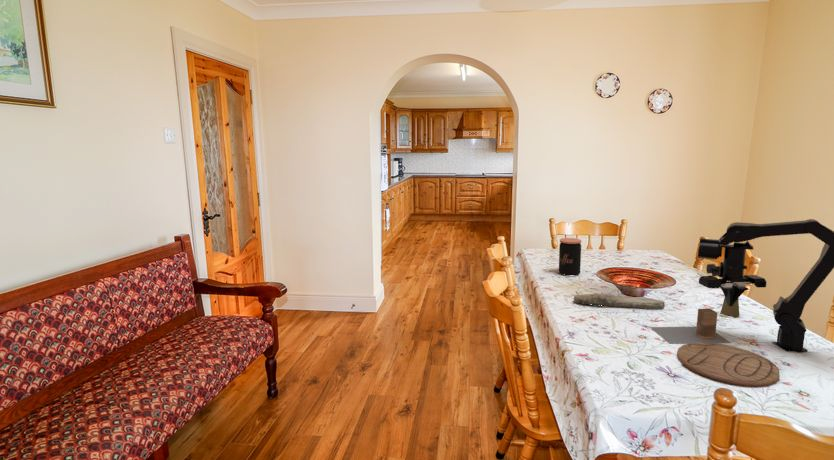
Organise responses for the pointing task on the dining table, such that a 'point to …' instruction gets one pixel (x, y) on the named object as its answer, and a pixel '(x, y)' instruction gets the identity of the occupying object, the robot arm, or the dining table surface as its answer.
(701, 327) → the walnut block
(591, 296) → the long grey stone
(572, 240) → the coffee jar
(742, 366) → the trivet
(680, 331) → the rubber mat
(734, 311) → the cork
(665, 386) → the dining table surface
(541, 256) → the dining table surface
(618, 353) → the dining table surface
